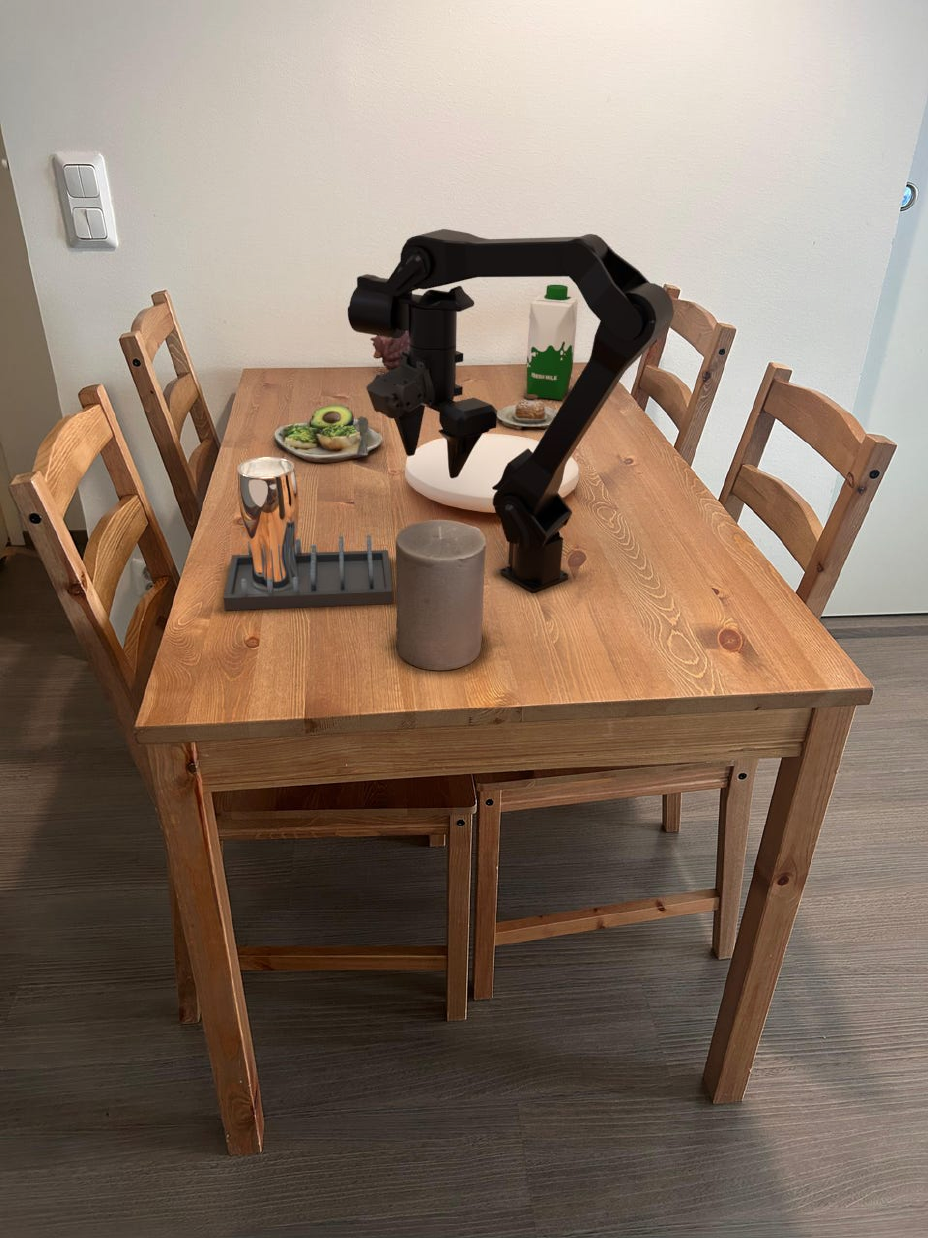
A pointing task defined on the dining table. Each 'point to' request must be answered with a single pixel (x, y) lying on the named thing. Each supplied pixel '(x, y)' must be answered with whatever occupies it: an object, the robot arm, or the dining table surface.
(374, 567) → the rack
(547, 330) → the green white milk carton
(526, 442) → the plate
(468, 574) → the pillar candle
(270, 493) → the beer glass
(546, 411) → the pastry
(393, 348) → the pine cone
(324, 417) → the salad plate
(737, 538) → the dining table surface
